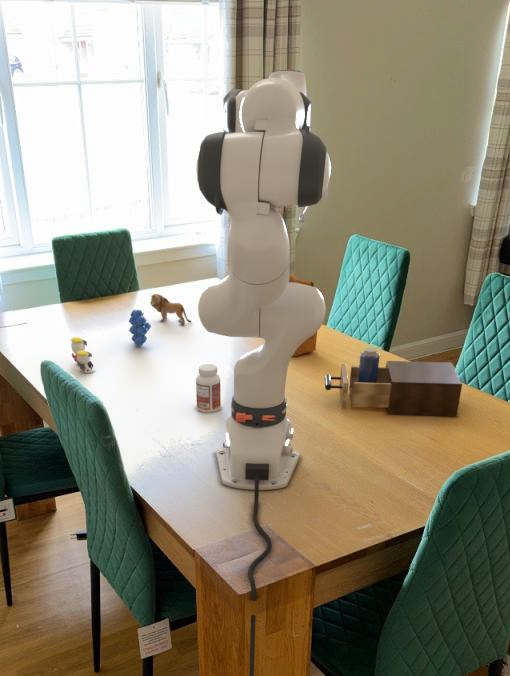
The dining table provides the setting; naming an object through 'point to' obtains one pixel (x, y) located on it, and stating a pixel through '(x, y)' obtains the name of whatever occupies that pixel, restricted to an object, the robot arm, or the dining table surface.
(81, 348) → the toy figures
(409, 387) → the cabinet
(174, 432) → the dining table surface
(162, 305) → the lion figurine
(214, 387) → the pill bottle
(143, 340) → the grapes
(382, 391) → the drawer
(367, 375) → the pepper mill
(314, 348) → the coffee package
